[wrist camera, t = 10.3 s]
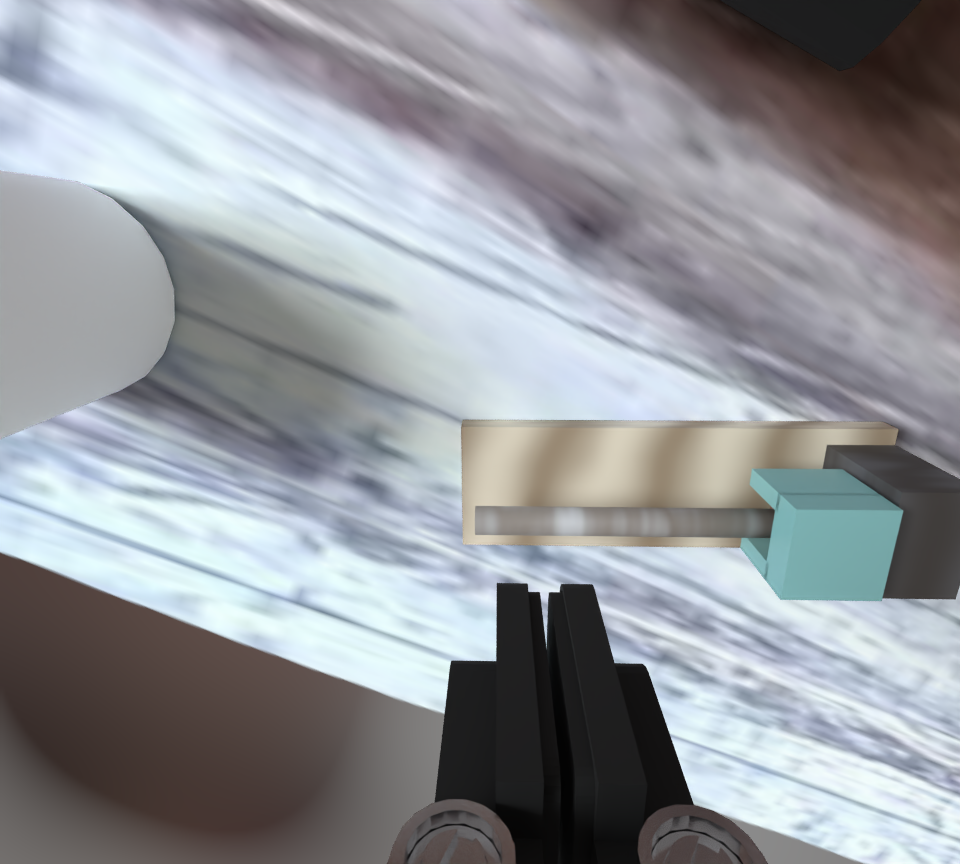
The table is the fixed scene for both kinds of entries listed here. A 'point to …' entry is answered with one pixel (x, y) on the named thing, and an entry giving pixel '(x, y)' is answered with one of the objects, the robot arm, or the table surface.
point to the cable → (829, 24)
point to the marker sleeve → (823, 535)
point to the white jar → (74, 299)
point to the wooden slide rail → (694, 486)
